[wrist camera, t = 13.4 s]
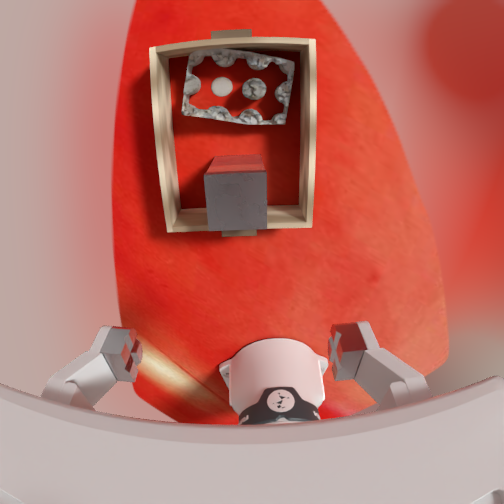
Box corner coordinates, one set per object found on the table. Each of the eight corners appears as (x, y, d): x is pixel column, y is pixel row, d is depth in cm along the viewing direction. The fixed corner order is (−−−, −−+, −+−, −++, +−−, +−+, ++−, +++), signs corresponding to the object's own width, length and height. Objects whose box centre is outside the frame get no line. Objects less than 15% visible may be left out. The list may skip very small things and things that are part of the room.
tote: (303, 216, 35) (311, 235, 31) (178, 220, 35) (168, 240, 31) (304, 39, 25) (315, 30, 20) (163, 46, 25) (149, 39, 20)
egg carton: (184, 114, 29) (175, 116, 26) (194, 49, 25) (187, 43, 22) (281, 128, 30) (285, 133, 27) (294, 64, 26) (300, 60, 23)
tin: (261, 153, 31) (266, 172, 24) (262, 197, 34) (267, 229, 26) (214, 155, 31) (203, 174, 24) (217, 199, 34) (208, 231, 26)
